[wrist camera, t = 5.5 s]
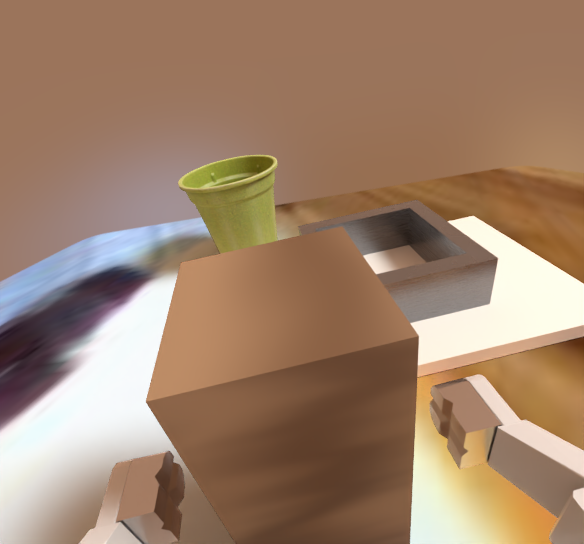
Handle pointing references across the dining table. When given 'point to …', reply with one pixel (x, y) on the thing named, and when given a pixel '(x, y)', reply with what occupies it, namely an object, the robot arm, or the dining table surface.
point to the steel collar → (431, 248)
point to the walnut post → (292, 392)
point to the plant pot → (235, 200)
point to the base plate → (496, 305)
